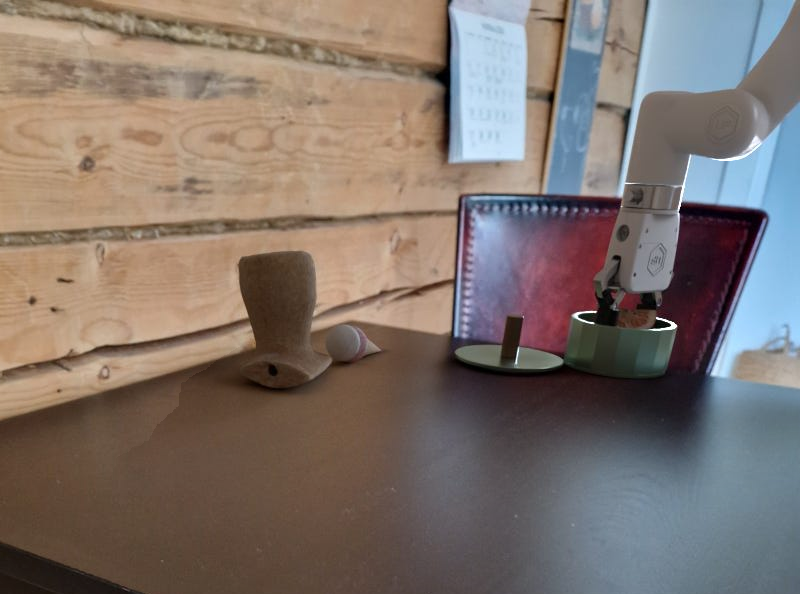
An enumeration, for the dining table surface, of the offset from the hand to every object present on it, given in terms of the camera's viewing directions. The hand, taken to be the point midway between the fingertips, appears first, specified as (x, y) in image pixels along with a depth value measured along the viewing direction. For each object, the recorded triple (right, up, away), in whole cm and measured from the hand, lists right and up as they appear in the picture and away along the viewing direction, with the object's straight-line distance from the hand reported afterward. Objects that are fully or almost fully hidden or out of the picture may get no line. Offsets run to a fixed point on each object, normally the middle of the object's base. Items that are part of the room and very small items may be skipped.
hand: (622, 335), depth 123 cm
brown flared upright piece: (-49, -10, -14) cm, 52 cm away
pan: (-1, -4, +2) cm, 4 cm away
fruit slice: (0, -1, +1) cm, 1 cm away
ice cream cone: (-39, -4, -2) cm, 39 cm away
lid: (-17, -3, 0) cm, 17 cm away
